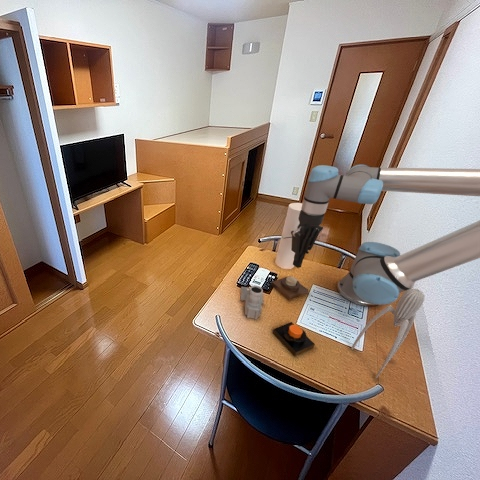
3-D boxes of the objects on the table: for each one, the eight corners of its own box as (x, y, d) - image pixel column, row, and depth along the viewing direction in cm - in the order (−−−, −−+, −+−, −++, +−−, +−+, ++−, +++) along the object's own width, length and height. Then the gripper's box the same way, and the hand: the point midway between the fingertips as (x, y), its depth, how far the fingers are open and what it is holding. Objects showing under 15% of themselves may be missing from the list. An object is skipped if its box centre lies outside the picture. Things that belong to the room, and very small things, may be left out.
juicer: (404, 376, 77) (462, 302, 61) (375, 379, 76) (426, 305, 61) (376, 345, 86) (421, 275, 70) (350, 348, 85) (389, 277, 70)
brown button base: (289, 279, 115) (291, 272, 113) (307, 293, 107) (309, 286, 105) (271, 285, 113) (272, 278, 110) (288, 300, 104) (290, 293, 102)
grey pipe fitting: (243, 293, 92) (244, 268, 105) (239, 316, 98) (240, 291, 111) (269, 297, 90) (267, 271, 102) (264, 321, 96) (261, 294, 108)
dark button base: (290, 326, 94) (292, 318, 92) (313, 348, 86) (316, 340, 84) (272, 333, 91) (274, 325, 89) (294, 356, 83) (297, 348, 81)
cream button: (290, 279, 110) (291, 275, 109) (298, 284, 107) (299, 281, 106) (283, 281, 109) (284, 277, 108) (290, 287, 106) (291, 283, 105)
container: (296, 269, 121) (313, 211, 106) (276, 268, 123) (291, 210, 107) (292, 259, 128) (308, 203, 113) (273, 257, 130) (287, 202, 114)
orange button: (294, 327, 89) (295, 323, 88) (303, 336, 86) (305, 332, 85) (285, 330, 88) (286, 326, 87) (294, 340, 85) (296, 336, 84)
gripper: (317, 204, 95) (301, 257, 107) (289, 210, 91) (276, 264, 104) (336, 212, 89) (317, 267, 101) (306, 219, 85) (290, 275, 98)
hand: (296, 265), depth 102 cm, fingers closed
